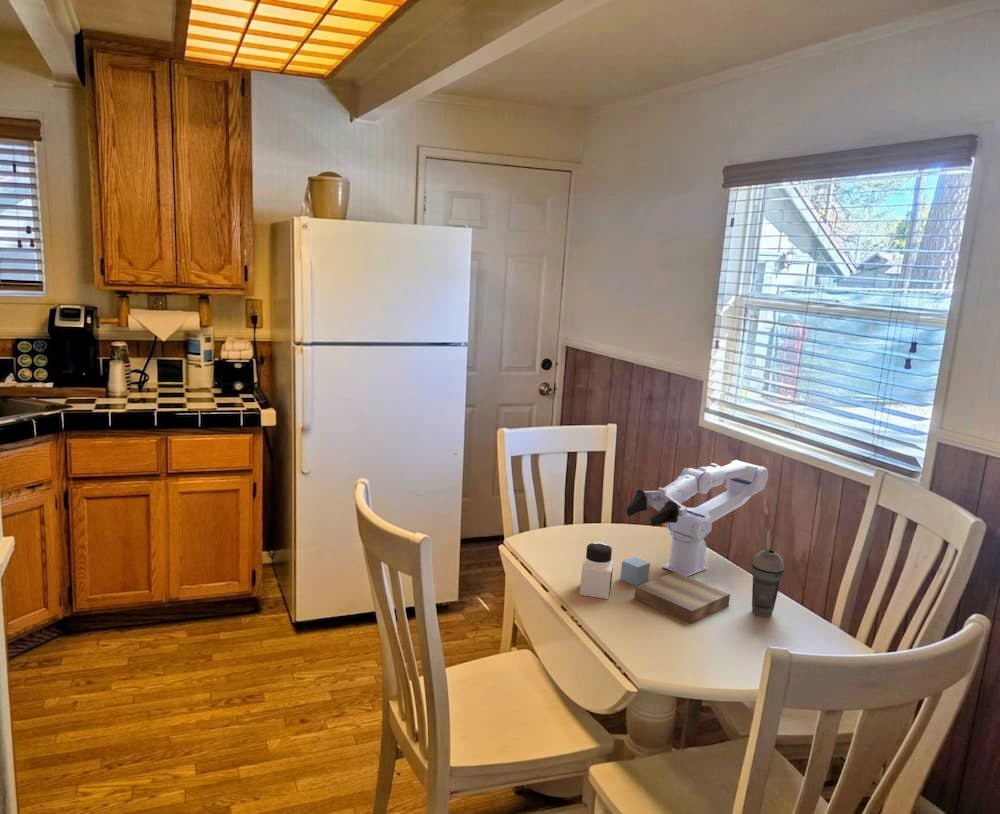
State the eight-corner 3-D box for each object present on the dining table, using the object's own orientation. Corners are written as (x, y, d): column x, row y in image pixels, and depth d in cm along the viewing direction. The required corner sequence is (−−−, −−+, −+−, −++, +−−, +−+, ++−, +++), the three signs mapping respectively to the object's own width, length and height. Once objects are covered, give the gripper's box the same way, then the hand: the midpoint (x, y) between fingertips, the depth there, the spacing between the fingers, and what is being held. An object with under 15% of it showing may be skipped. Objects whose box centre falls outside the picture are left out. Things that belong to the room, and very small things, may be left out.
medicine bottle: (609, 599, 182) (613, 552, 180) (579, 595, 183) (583, 548, 181) (611, 588, 189) (615, 542, 187) (582, 584, 190) (586, 538, 188)
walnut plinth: (673, 582, 194) (674, 571, 194) (728, 605, 183) (730, 593, 182) (634, 598, 184) (635, 586, 183) (690, 623, 172) (692, 610, 171)
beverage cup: (762, 622, 175) (773, 539, 171) (739, 609, 181) (749, 529, 178) (784, 617, 178) (796, 536, 175) (761, 604, 184) (771, 526, 181)
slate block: (632, 574, 198) (634, 556, 197) (648, 581, 194) (650, 563, 194) (620, 579, 195) (622, 560, 194) (636, 586, 191) (637, 567, 190)
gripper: (650, 473, 199) (616, 494, 191) (697, 489, 188) (662, 512, 181) (652, 496, 202) (618, 518, 194) (698, 513, 191) (664, 537, 183)
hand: (639, 517), depth 188 cm, fingers open, 7 cm apart
